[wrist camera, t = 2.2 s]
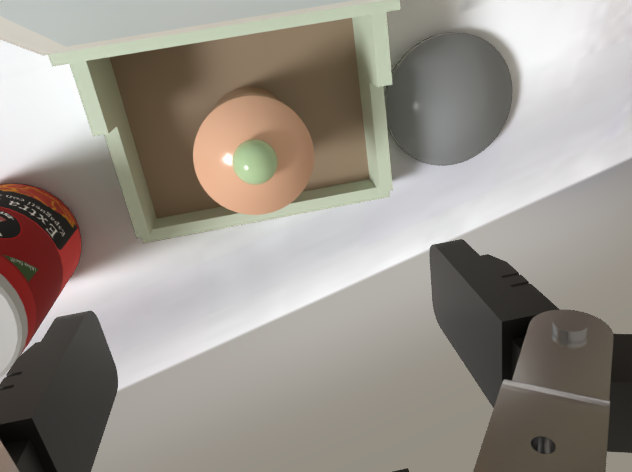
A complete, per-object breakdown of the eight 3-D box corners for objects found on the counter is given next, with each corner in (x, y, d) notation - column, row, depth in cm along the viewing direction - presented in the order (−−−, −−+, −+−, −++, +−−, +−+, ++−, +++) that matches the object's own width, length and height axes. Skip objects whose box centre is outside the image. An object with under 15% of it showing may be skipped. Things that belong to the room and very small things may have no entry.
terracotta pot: (192, 88, 31) (175, 114, 23) (290, 71, 32) (309, 91, 23) (214, 182, 34) (206, 238, 25) (305, 166, 34) (327, 215, 26)
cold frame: (92, 40, 30) (45, 47, 23) (361, -3, 31) (399, -10, 24) (149, 228, 35) (126, 284, 27) (379, 185, 36) (416, 228, 29)
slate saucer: (378, 44, 32) (381, 44, 32) (506, 22, 33) (512, 22, 32) (390, 172, 36) (393, 175, 35) (506, 150, 36) (511, 153, 35)
